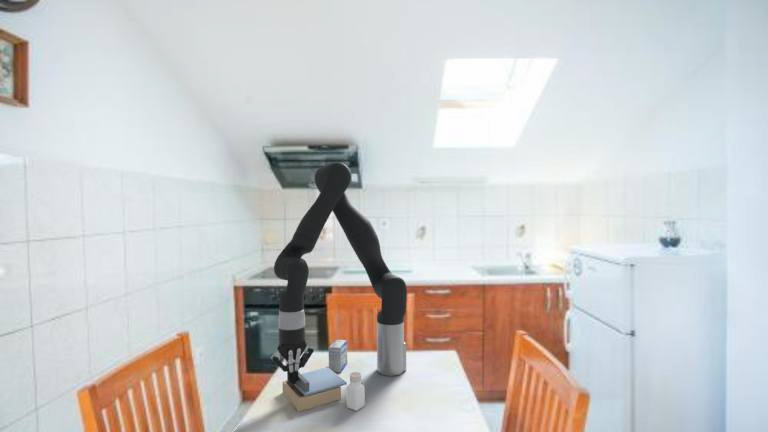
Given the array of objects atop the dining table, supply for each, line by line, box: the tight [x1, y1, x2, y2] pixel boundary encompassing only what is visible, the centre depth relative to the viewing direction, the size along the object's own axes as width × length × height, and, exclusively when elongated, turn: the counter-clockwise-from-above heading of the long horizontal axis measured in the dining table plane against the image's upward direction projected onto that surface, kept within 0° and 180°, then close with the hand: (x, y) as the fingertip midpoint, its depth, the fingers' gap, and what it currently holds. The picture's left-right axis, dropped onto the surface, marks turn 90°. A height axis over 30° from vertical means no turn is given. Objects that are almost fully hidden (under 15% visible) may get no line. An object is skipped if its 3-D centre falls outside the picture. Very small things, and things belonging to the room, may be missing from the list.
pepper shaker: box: [346, 371, 366, 411], centre depth 117 cm, size 4×4×10 cm
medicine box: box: [328, 339, 348, 373], centre depth 144 cm, size 8×4×9 cm, turn 168°
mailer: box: [282, 379, 342, 412], centre depth 124 cm, size 13×13×4 cm
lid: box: [294, 366, 348, 396], centre depth 125 cm, size 13×13×3 cm
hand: (292, 382), depth 121 cm, fingers closed
